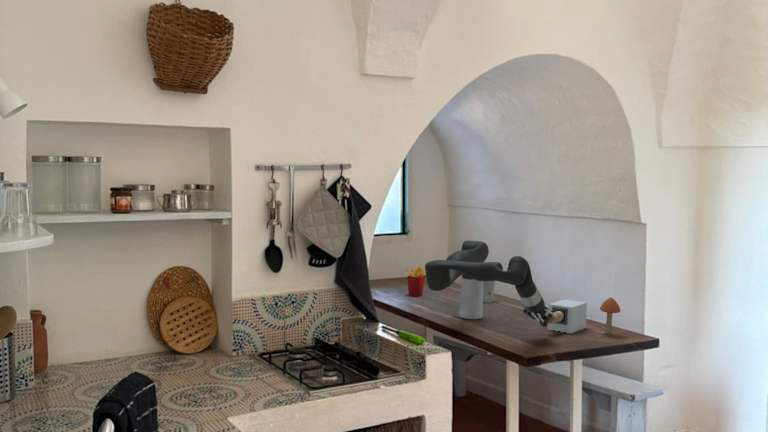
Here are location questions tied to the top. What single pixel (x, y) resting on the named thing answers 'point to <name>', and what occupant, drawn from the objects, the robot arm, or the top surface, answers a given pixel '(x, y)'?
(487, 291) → the skincare box
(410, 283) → the french fries
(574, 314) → the block
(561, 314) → the peg
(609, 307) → the mushroom
